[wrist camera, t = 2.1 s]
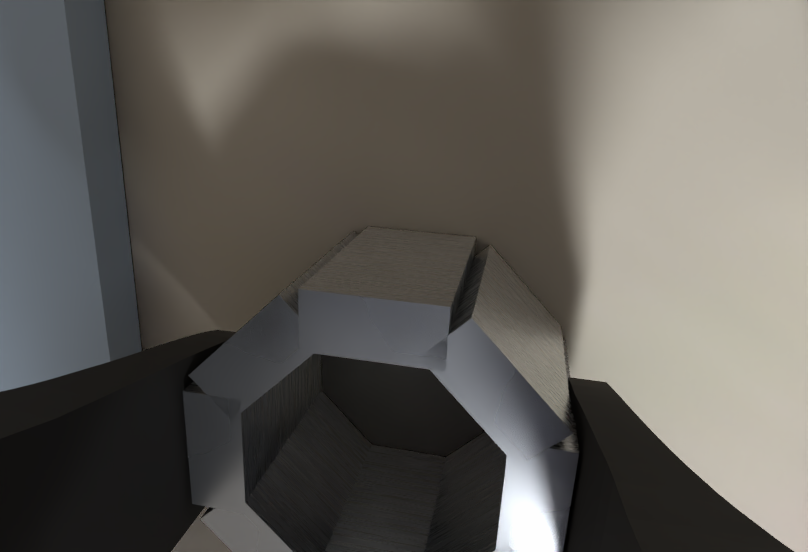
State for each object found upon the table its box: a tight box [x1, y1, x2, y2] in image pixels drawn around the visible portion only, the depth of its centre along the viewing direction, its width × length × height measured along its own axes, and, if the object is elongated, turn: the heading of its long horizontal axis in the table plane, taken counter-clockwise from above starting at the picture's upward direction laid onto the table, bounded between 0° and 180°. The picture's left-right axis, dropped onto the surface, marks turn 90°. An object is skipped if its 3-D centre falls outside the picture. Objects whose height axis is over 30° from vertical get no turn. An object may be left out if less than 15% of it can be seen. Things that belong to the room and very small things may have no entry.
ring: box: [183, 227, 579, 552], centre depth 10 cm, size 6×6×4 cm
